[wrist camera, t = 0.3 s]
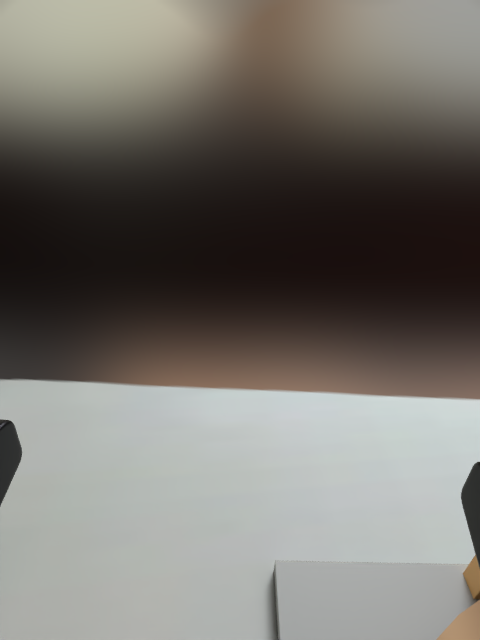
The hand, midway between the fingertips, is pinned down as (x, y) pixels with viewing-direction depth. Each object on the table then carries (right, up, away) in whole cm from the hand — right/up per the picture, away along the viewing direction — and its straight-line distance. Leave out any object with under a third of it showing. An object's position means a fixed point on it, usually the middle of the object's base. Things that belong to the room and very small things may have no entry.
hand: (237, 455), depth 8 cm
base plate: (+16, -19, +3) cm, 25 cm away
